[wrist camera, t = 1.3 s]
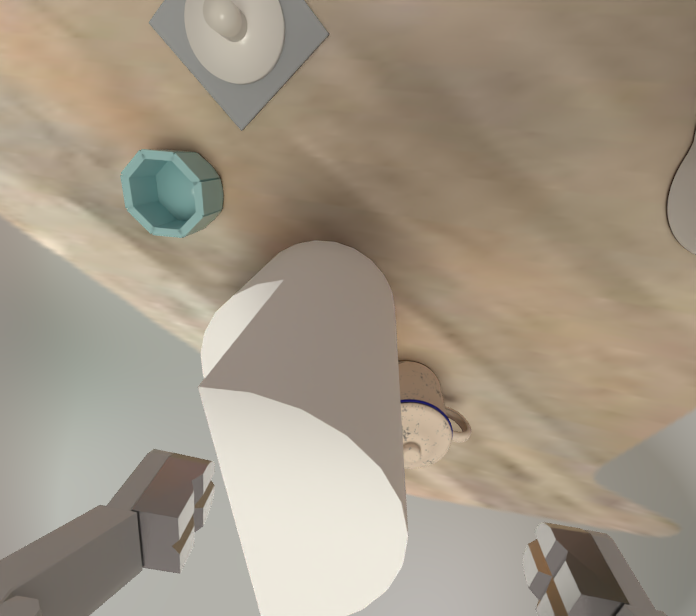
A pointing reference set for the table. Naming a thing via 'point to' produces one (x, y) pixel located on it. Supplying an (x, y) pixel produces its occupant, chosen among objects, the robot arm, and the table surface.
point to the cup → (171, 191)
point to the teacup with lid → (426, 417)
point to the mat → (251, 98)
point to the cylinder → (311, 429)
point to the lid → (236, 37)
